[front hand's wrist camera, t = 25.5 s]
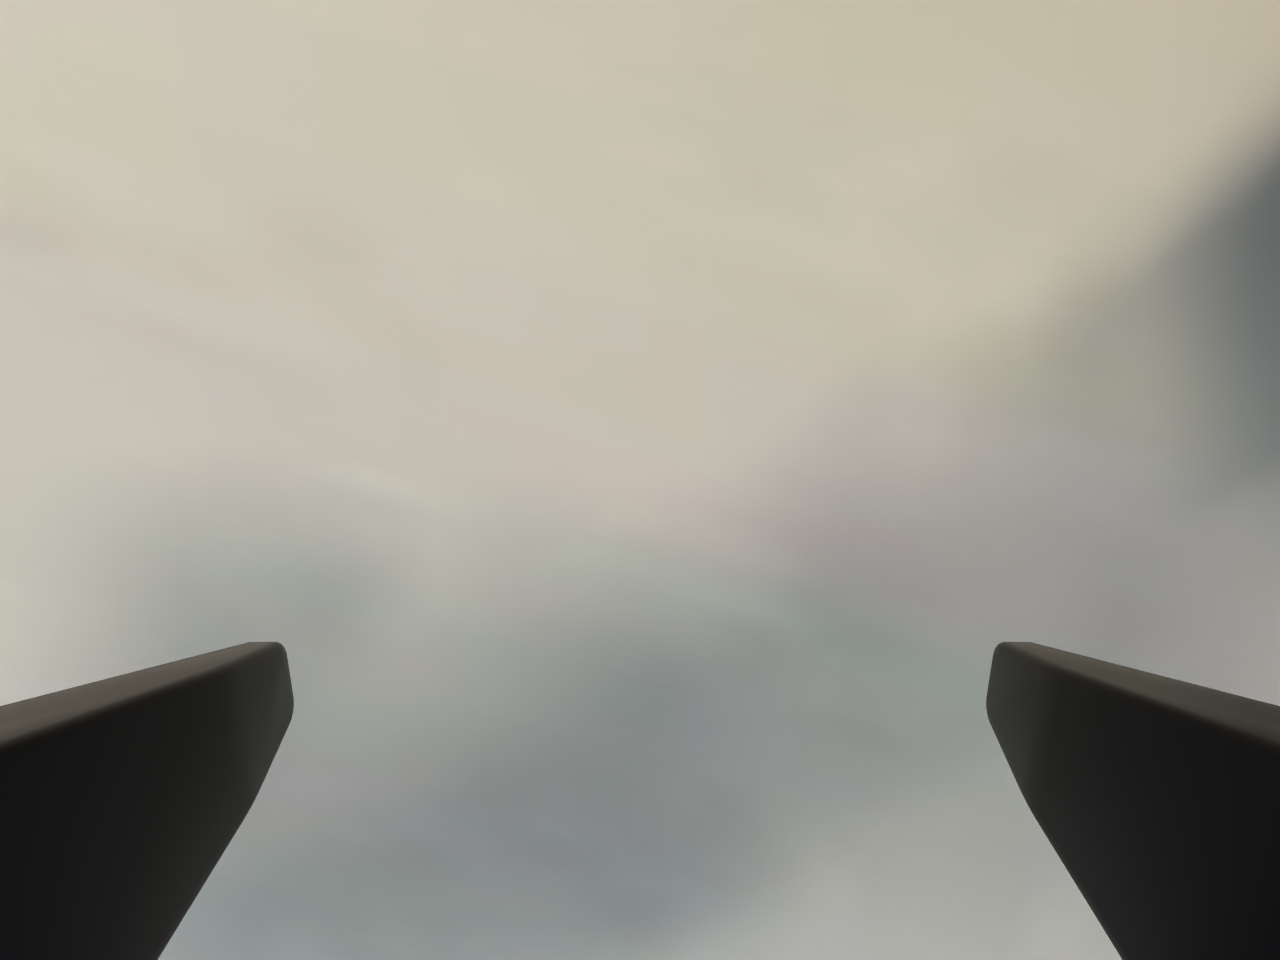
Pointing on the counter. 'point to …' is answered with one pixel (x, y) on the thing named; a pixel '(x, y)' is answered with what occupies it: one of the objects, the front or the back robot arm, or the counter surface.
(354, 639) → the counter surface
